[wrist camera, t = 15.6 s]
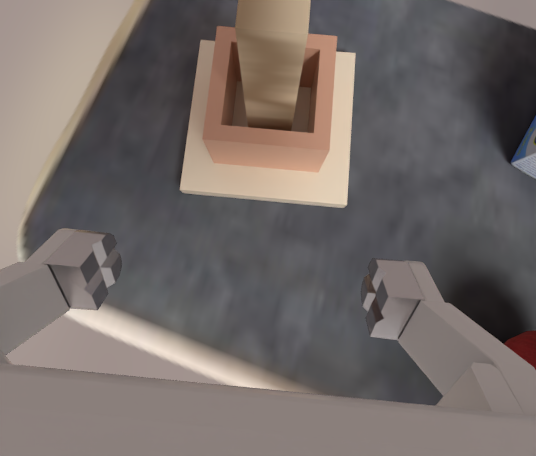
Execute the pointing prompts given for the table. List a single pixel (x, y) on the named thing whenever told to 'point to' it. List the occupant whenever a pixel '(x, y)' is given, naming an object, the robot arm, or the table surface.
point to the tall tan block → (271, 58)
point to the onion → (524, 346)
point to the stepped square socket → (270, 130)
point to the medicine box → (527, 152)
